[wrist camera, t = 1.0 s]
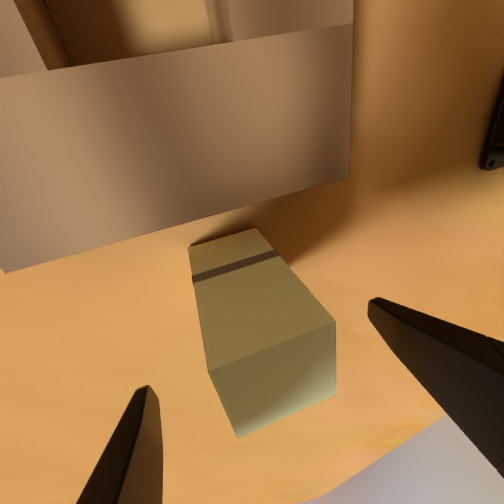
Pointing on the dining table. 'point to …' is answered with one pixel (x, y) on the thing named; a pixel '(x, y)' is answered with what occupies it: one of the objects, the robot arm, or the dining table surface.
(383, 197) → the dining table surface
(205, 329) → the peg
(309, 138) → the board
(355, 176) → the dining table surface
